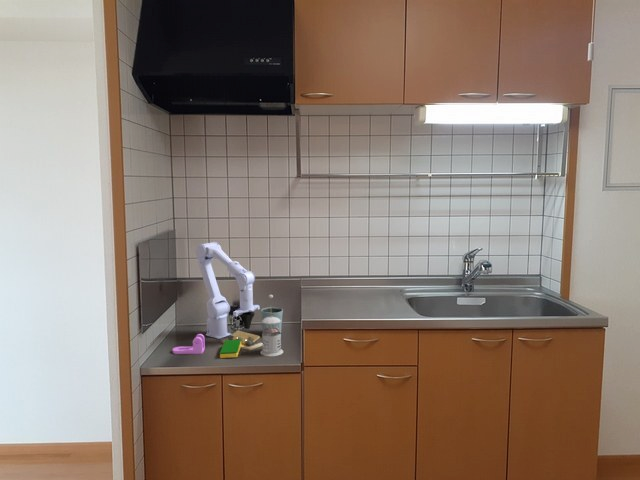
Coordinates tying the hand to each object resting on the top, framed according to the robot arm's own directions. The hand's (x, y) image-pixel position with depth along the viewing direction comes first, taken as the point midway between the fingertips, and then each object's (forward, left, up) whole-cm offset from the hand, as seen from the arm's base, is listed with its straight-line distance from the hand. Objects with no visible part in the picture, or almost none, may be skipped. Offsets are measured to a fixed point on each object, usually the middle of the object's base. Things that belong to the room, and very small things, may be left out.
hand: (247, 328), depth 220 cm
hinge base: (0, -3, -6) cm, 7 cm away
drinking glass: (+2, +14, -7) cm, 16 cm away
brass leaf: (0, -2, -5) cm, 5 cm away
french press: (+17, -3, -7) cm, 18 cm away
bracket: (-12, -24, -7) cm, 27 cm away
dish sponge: (+4, -14, -6) cm, 15 cm away
